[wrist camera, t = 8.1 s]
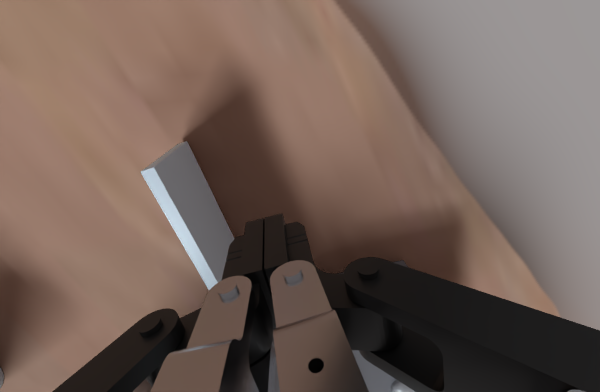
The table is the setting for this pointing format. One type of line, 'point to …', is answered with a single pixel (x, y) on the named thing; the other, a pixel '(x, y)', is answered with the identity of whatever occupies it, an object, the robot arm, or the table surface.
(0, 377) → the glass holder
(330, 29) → the table surface
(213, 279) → the side door
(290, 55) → the table surface
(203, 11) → the table surface
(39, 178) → the table surface
